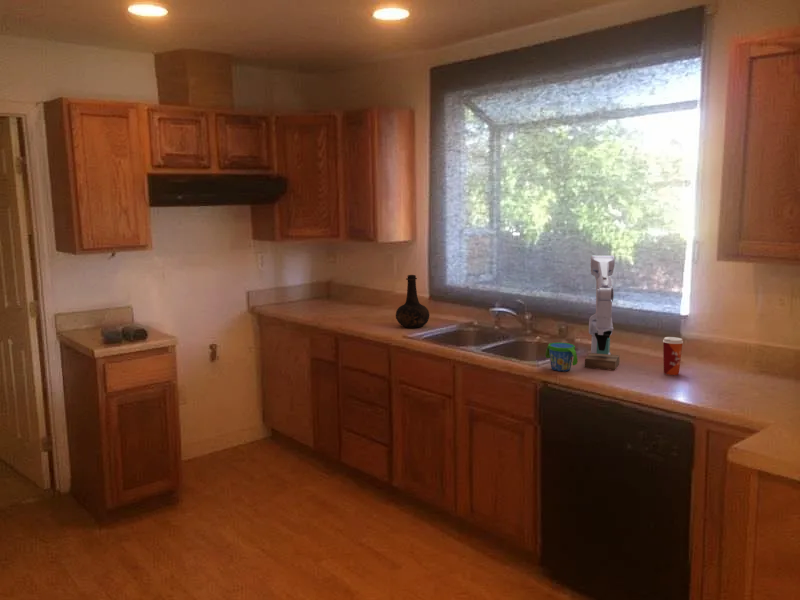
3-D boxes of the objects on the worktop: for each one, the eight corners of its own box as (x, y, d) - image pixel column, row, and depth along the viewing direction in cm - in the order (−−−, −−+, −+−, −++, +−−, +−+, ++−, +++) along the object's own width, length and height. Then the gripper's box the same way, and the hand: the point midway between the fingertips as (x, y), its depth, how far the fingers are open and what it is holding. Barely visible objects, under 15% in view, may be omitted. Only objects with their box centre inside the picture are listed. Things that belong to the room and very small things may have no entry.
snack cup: (584, 372, 281) (585, 347, 280) (563, 375, 277) (563, 350, 275) (558, 364, 295) (559, 340, 294) (538, 367, 291) (539, 342, 289)
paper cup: (675, 376, 274) (677, 341, 272) (657, 373, 280) (658, 338, 278) (685, 373, 279) (687, 338, 277) (667, 369, 285) (669, 335, 283)
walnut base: (589, 362, 301) (590, 352, 300) (619, 364, 296) (619, 355, 295) (584, 368, 290) (584, 358, 289) (614, 371, 285) (615, 361, 284)
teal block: (598, 351, 295) (598, 337, 294) (609, 352, 293) (610, 337, 292) (596, 353, 291) (597, 339, 290) (607, 354, 289) (608, 340, 288)
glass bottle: (435, 325, 383) (435, 274, 379) (418, 331, 368) (418, 277, 364) (407, 322, 393) (407, 272, 388) (389, 327, 378) (389, 275, 373)
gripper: (611, 320, 282) (610, 353, 284) (616, 314, 295) (615, 346, 297) (593, 318, 285) (592, 352, 287) (599, 313, 298) (598, 345, 300)
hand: (602, 349), depth 292 cm, fingers closed on teal block, 4 cm apart
